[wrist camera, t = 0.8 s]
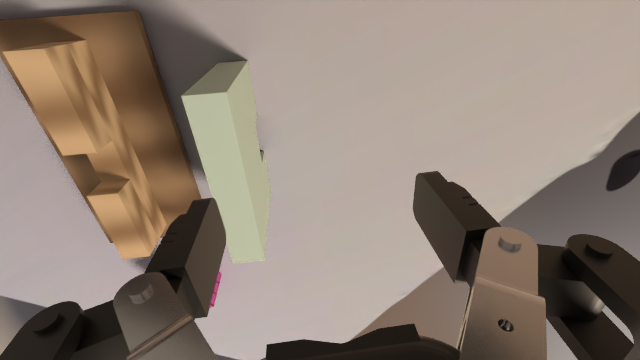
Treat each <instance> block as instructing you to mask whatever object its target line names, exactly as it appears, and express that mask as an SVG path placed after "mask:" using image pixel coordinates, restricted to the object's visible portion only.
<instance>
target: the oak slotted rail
mask: <svg viewBox="0 0 640 360" xmlns="http://www.w3.org/2000/svg"><path fill="white" fill-rule="evenodd" d="M0 56H1V58H2V60H3V61H4V63H5V65H6V66H7V68H8V70H9V72H10V73H11V75H12V77H13V78H14V80H15V82H16V83H17V85H18V87H19V89H20V90H21V92H22V94H23V95H24V97H25V99H26V100H27V102H28V104H29V105H30V107H31V109H32V111H33V112H34V114H35V116H36V117H37V119H38V121H39V122H40V124H41V126H42V128H43V129H44V131H45V133H46V134H47V136H48V138H49V139H50V141H51V143H52V144H53V146H54V148H55V150H56V151H57V153H58V155H59V156H60V158H61V160H62V161H63V163H64V165H65V167H66V168H67V170H68V172H69V173H70V175H71V177H72V178H73V180H74V182H75V183H76V185H77V187H78V189H79V190H80V192H81V194H82V195H83V197H84V199H85V200H86V202H87V204H88V206H89V207H90V209H91V211H92V212H93V214H94V216H95V217H96V219H97V221H98V222H99V224H100V226H101V228H102V229H103V231H104V233H105V234H106V236H107V238H108V239H109V241H110V243H114V244H115V246H116V248H117V250H118V251H119V253H120V255H121V256H122V258H123V259H129V258H138V257H148V256H150V255H151V253H152V251H153V249H154V248H155V246H156V244H157V242H158V240H159V238H162V237H164V236H165V233H166V231H167V229H168V227H169V226H170V224H171V223H172V222H173V221H174V220H175V219H176V218H177V217H178V216H179V215H181V214H186V213H187V211H188V209H189V207H190V205H191V203H192V201H193V200H198V199H201V196H200V193H199V190H198V187H197V184H196V181H195V178H194V175H193V172H192V169H191V166H190V163H189V160H188V157H187V154H186V151H185V148H184V145H183V142H182V139H181V136H180V133H179V130H178V127H177V124H176V121H175V118H174V115H173V112H172V109H171V106H170V103H169V100H168V97H167V94H166V91H165V88H164V85H163V82H162V79H161V76H160V73H159V70H158V67H157V64H156V61H155V58H154V55H153V52H152V49H151V46H150V43H149V40H148V37H147V34H146V31H145V28H144V25H143V22H142V19H141V16H140V14H139V11H138V10H137V11H123V12H109V13H95V14H82V15H68V16H54V17H40V18H26V19H12V20H0Z"/></svg>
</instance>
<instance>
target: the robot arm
mask: <svg viewBox="0 0 640 360" xmlns="http://www.w3.org/2000/svg"><path fill="white" fill-rule="evenodd" d="M413 211H414V216H415V219H416V221H417V222H418V224H419V226H420V227H421V229H422V231H423V232H424V234H425V236H426V237H427V239H428V241H429V242H430V244H431V246H432V247H433V249H434V251H435V252H436V254H437V256H438V257H439V259H440V260H441V262H442V264H443V265H444V267H445V269H446V270H447V272H448V274H449V275H450V277H451V279H452V280H453V282H454V283H463V282H467V283H468V284H469V286H470V290H469V294H468V298H467V303H466V308H465V312H464V316H463V321H462V325H461V330H460V334H459V338H458V342H457V346H456V348H454V347H452V346H450V345H448V344H446V343H444V342H442V341H439V340H436V339H433V338H429V337H425V336H419V335H418V332H417V330H416V327H415V325H414V324H408V325H401V326H394V327H387V328H380V329H377V330H374V331H372V332H370V333H367V334H365V335H363V336H360V337H358V338H356V339H353V340H351V341H349V342H346V343H342V344H339V343H330V342H322V341H313V340H304V339H303V340H296V341H289V342H282V343H275V344H268V345H267V349H266V358H264V359H261V360H547V343H546V318H547V319H548V321H549V322H550V323H551V324H552V326H553V327H554V329H555V330H556V331H557V333H558V334H559V335H560V337H561V338H562V339H563V340H564V342H565V343H566V344H567V346H568V347H569V348H570V350H571V351H572V352H573V353H574V355H575V356H576V358H577V359H578V360H640V262H639V261H638V260H637V259H636V258H634V257H633V256H632V255H630V254H629V253H628V252H627V251H625V250H624V249H623V248H621V247H620V246H618V245H617V244H615V243H613V242H611V241H609V240H606V239H604V238H601V237H598V236H593V235H587V234H578V235H573V236H571V237H570V238H569V239H568V241H567V243H566V245H565V247H560V246H550V245H539V244H536V243H535V241H534V240H533V239H532V238H531V237H529V236H528V235H526V234H525V233H523V232H521V231H518V230H516V229H512V228H508V227H501V226H500V225H499V223H498V222H497V221H496V220H495V219H494V218H493V217H492V216H491V215H490V214H489V213H488V212H487V211H486V210H485V209H484V208H483V207H482V206H481V205H480V204H478V202H477V201H476V200H475V199H474V198H472V196H471V195H470V194H469V193H468V191H467V190H466V189H465V188H463V187H461V186H459V185H458V184H456V183H454V182H447V180H446V179H445V178H444V177H443V176H442V175H441V174H440V173H439V172H438V171H433V172H425V173H418V174H417V176H416V181H415V191H414V201H413ZM225 245H226V231H225V227H224V224H223V221H222V218H221V214H220V211H219V208H218V205H217V202H216V200H215V199H214V198H207V199H198V200H193V201H192V203H191V205H190V207H189V209H188V211H187V213H186V214H181V215H179V216H178V217H177V218H176V219H175V220H174V221H173V222H172V223H171V224H170V226H169V227H168V229H167V231H166V233H165V236H164V237H163V239H162V241H161V244H159V246H158V248H157V250H156V252H155V254H154V256H153V258H152V259H151V261H150V263H149V265H148V267H147V269H146V271H145V273H144V274H141V275H139V276H137V277H135V278H133V279H131V280H130V281H128V282H127V283H126V284H124V285H123V286H122V287H121V288H120V289H119V291H118V292H117V293H116V295H115V297H114V300H111V301H109V302H106V303H103V304H101V305H98V306H95V307H93V308H90V309H87V310H84V311H83V310H82V309H81V307H80V306H79V305H78V304H77V303H76V302H72V301H67V302H61V303H58V304H55V305H52V306H50V307H48V308H46V309H44V310H42V311H41V312H39V313H38V314H36V315H35V316H34V317H32V318H31V319H30V320H29V321H28V322H27V323H26V324H25V325H24V326H23V327H22V328H21V329H20V330H19V332H18V333H17V334H16V336H15V337H14V338H13V340H12V341H11V342H10V344H9V345H8V346H7V348H6V349H5V350H4V352H3V353H2V354H1V355H0V360H218V359H217V357H216V356H215V354H214V352H213V351H212V349H211V348H210V346H209V344H208V343H207V341H206V339H205V338H204V336H203V335H202V333H201V331H200V330H199V328H198V326H197V325H196V323H195V322H194V320H195V318H202V317H207V315H208V311H209V308H210V304H211V300H212V296H213V292H214V288H215V284H216V280H217V276H218V272H219V268H220V264H221V260H222V256H223V253H224V249H225ZM605 305H606V306H607V307H608V308H609V309H610V310H611V311H612V312H613V313H614V314H615V315H616V316H617V317H618V318H619V319H620V320H621V321H622V322H623V323H624V324H625V325H626V326H627V327H628V329H629V330H630V332H631V334H632V336H633V339H634V344H633V343H632V342H631V341H630V340H629V339H628V338H627V337H626V336H625V335H624V333H622V331H620V329H619V328H618V327H617V326H616V325H615V324H614V323H613V322H612V321H611V320H610V319H609V318H608V317H607V316H606V315H605V314H604V313H603V312H602V309H603V308H604V306H605Z"/></svg>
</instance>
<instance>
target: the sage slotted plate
mask: <svg viewBox="0 0 640 360" xmlns="http://www.w3.org/2000/svg"><path fill="white" fill-rule="evenodd" d="M181 97H182V101H183V104H184V107H185V110H186V113H187V117H188V120H189V123H190V126H191V130H192V133H193V136H194V139H195V143H196V146H197V149H198V152H199V156H200V159H201V162H202V165H203V168H204V172H205V175H206V178H207V181H208V185H209V188H210V191H211V194H212V198H214V199H215V200H216V202H217V205H218V208H219V211H220V214H221V218H222V221H223V224H224V227H225V231H226V243H227V246H228V249H229V253H230V256H231V259H232V262H233V264H236V263H245V262H255V261H264V260H265V251H266V240H267V230H268V219H269V209H270V198H271V187H270V182H269V176H268V170H267V165H266V159H265V154H264V151H262V152H260V149H259V144H258V138H257V133H256V128H255V123H256V119H257V116H258V114H257V109H256V103H255V98H254V92H253V86H252V81H251V75H250V70H249V64H248V61H235V62H223V63H217V64H216V65H215V66H214V67H213V68H212V69H211V70H210V71H209V72H207V73H206V74H205V75H204V76H203V77H202V78H201V79H200V80H198V81H197V82H196V83H195V84H194V85H193V86H192V87H191V88H190V89H188V90H187V91H186V92H185V93H184V94H183V95H182V96H181Z"/></svg>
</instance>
